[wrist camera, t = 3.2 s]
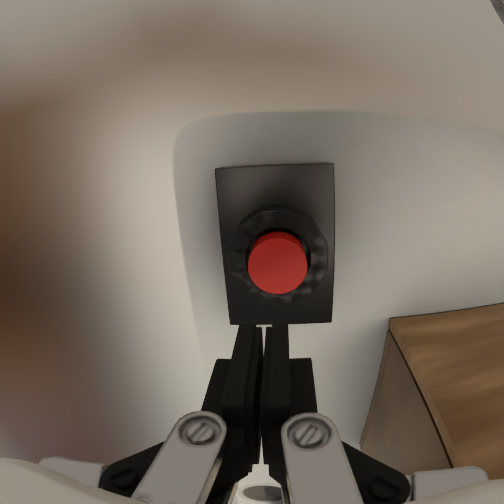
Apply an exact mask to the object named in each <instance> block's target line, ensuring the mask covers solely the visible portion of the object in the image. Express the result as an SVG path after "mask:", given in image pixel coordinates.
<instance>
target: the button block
mask: <svg viewBox="0 0 504 504" xmlns="http://www.w3.org/2000/svg"><path fill="white" fill-rule="evenodd" d="M215 179H216V191H217V202H218V213H219V224H220V235H221V245H222V255H223V265H224V274H225V283H226V292H227V301H228V310H229V319H230V325H240V323H256V325H271V324H272V323H287V322H288V324H307V323H329V322H332V307H333V287H334V257H335V188H334V164H333V163H329V162H316V163H282V164H261V165H245V166H231V167H221V168H216V169H215ZM276 231H281V232H286V233H289V234H291V235H293V236H294V237H296V238H297V239H298V240H299V241H300V243H301V244H302V246H303V248H304V250H305V255H306V259H307V273H306V276H305V278H304V280H303V281H302V283H301V284H300V285H299V286H298V287H297V288H295V289H294V290H292V291H290V292H287V293H283V294H273V293H268V292H266V291H264V290H262V289H260V288H259V287H258V286H257V285H255V283H254V282H253V281H252V279H251V277H250V275H249V271H248V261H249V257H250V254H251V251H252V248H253V246H254V244H255V243H256V241H257V240H258V239H259V238H260V237H262V236H263V235H265V234H267V233H270V232H276Z"/></svg>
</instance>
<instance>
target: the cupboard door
mask: <svg viewBox="0 0 504 504" xmlns="http://www.w3.org/2000/svg"><path fill="white" fill-rule="evenodd" d="M389 329H390V331H391V332H392V334H393V336H394V338H395V340H396V342H397V344H398V346H399V348H400V350H401V351H402V353H403V355H404V357H405V359H406V361H407V363H408V365H409V367H410V369H411V371H412V373H413V375H414V377H415V380H416V382H417V384H418V386H419V388H420V390H421V392H422V394H423V396H424V399H425V401H426V403H427V405H428V407H429V410H430V412H431V414H432V416H433V419H434V421H435V423H436V426H437V428H438V430H439V433H440V435H441V437H442V440H443V442H444V445H445V447H446V450H447V452H448V455H449V457H450V460H451V462H452V465H453V468H458V467H465V466H477V467H480V468H482V469H483V470H484V471H485V472H486V473H487V476H488V478H489V480H496V479H504V303H502V304H497V305H491V306H485V307H479V308H472V309H466V310H459V311H452V312H444V313H437V314H428V315H420V316H411V317H401V318H391V319H390V324H389Z"/></svg>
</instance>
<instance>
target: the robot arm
mask: <svg viewBox="0 0 504 504" xmlns="http://www.w3.org/2000/svg"><path fill="white" fill-rule="evenodd" d="M261 436H262V447H263V459H264V464H269V476H271V477H272V478H273V479H274V480H276V481H277V482H278V483H279V484H281V492H282V499H283V504H504V479H496V480H489V478H488V476H487V473H486V472H485V471H484V470H483V469H482V468H480V467H477V466H465V467H458V468H451V469H442V470H431V471H417V472H414V473H413V474H412V475H404V474H402V473H401V472H399V471H398V470H396V469H394V468H392V467H390V466H388V465H386V464H384V463H382V462H380V461H378V460H376V459H374V458H372V457H370V456H368V455H366V454H365V453H363V452H361V451H359V450H357V449H355V448H354V447H352V446H350V445H348V444H346V443H345V442H343V441H341V439H340V436H339V433H338V431H337V428H336V426H335V424H334V423H333V421H332V420H331V419H329V418H328V417H327V416H324V415H322V414H319V413H318V412H317V403H316V394H315V385H314V377H313V369H312V361H311V358H297V359H289V337H288V322H287V323H272V327H266V337H265V349H264V354H263V337H262V327H256V323H240V325H239V329H238V333H237V337H236V341H235V345H234V350H233V354H232V358H231V359H217V360H216V363H215V366H214V369H213V372H212V376H211V379H210V382H209V385H208V389H207V393H206V395H205V399H204V402H203V406H202V409H201V411H196V412H191V413H189V414H186V415H184V416H183V417H182V418H180V419H179V420H178V421H177V422H176V424H175V425H174V427H173V428H172V430H171V432H170V434H169V435H168V437H167V439H166V440H165V441H164V442H161V443H159V444H157V445H155V446H153V447H151V448H148V449H146V450H144V451H141V452H139V453H137V454H134V455H132V456H130V457H127V458H125V459H122V460H120V461H117V462H115V463H113V464H111V465H110V466H105V465H104V463H101V462H92V461H84V460H77V459H70V458H63V457H58V456H48V457H45V458H43V459H42V460H41V461H40V462H39V464H35V463H31V462H28V461H23V460H17V459H9V458H0V504H232V501H233V499H234V496H235V493H236V490H237V488H238V482H239V480H241V479H242V478H244V477H246V476H247V475H248V472H252V465H253V464H259V458H260V447H261Z"/></svg>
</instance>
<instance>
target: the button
mask: <svg viewBox="0 0 504 504" xmlns="http://www.w3.org/2000/svg"><path fill="white" fill-rule="evenodd" d="M248 271H249V275H250V277H251V279H252V281H253V282H254V283H255V285H257V286H258V287H259V288H260V289H262V290H264V291H266V292H268V293H273V294H283V293H287V292H290V291H292V290H294V289H295V288H297V287H298V286H299V285H300V284H301V283H302V281H303V280H304V278H305V276H306V273H307V259H306V255H305V250H304V248H303V246H302V244H301V243H300V241H299V240H298V239H297V238H296V237H294V236H293V235H291V234H289V233H286V232H281V231H276V232H270V233H267V234H265V235H263V236H262V237H260V238H259V239H258V240H257V241H256V243H255V244H254V246H253V248H252V251H251V254H250V257H249V261H248Z"/></svg>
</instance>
